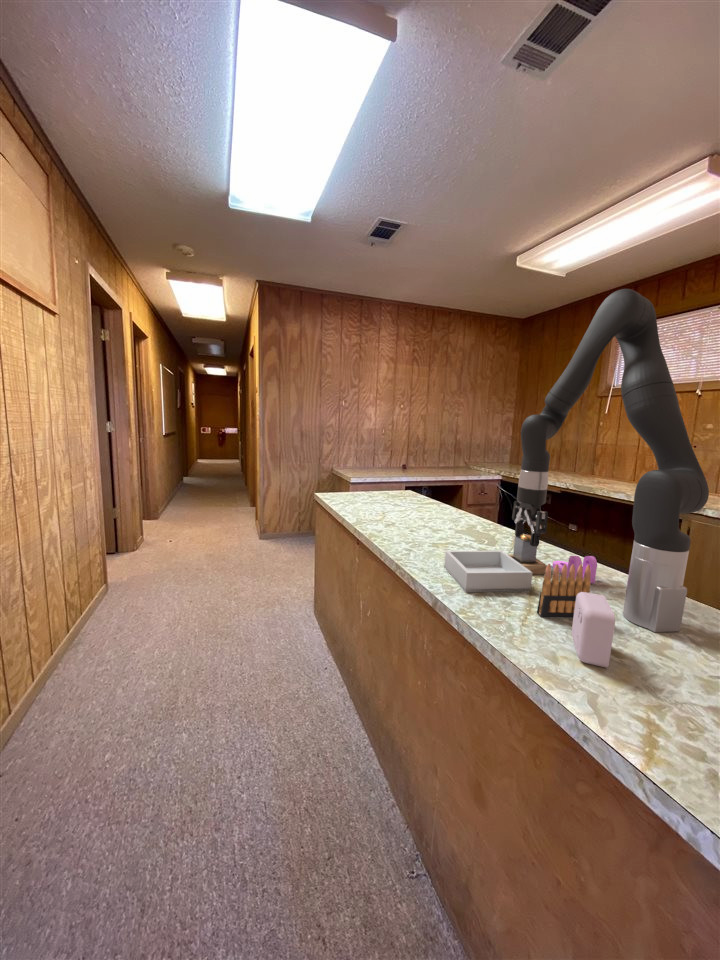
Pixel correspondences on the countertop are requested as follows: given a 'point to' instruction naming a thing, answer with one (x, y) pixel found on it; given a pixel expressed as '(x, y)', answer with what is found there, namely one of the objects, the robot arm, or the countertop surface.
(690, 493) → the robot arm
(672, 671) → the countertop surface
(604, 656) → the electronic device
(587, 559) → the pink humped piece
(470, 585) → the bin
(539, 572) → the socket block
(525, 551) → the grey upright block
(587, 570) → the ammunition clip
